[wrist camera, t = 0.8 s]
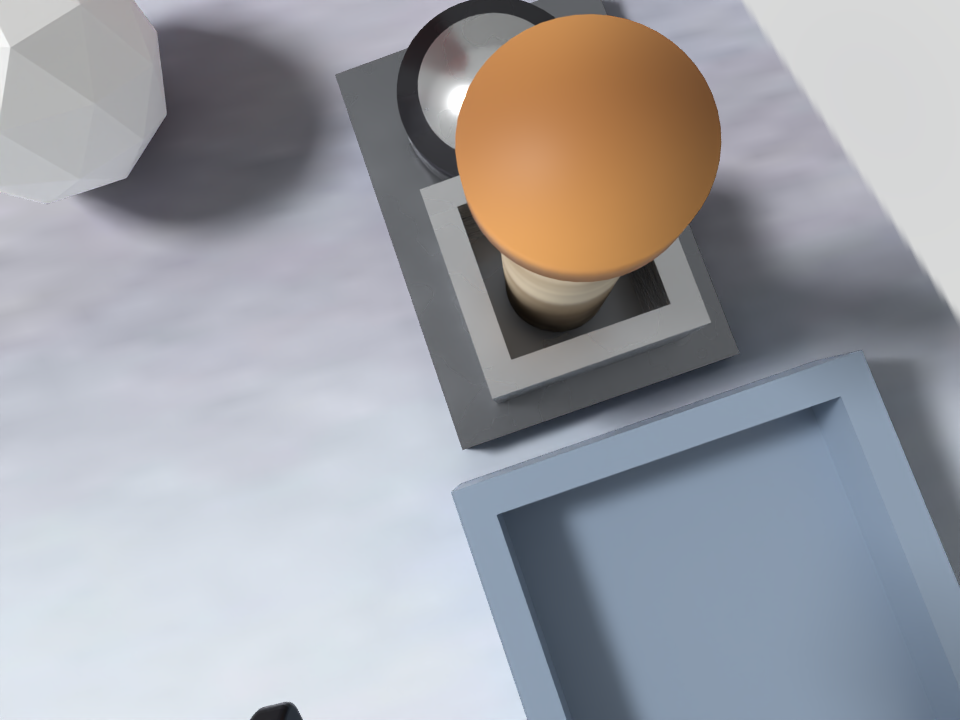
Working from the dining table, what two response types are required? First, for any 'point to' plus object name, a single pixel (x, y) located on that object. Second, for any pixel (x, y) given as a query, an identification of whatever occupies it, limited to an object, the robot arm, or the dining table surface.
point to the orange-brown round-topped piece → (584, 159)
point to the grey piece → (478, 264)
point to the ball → (75, 95)
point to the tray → (724, 563)
